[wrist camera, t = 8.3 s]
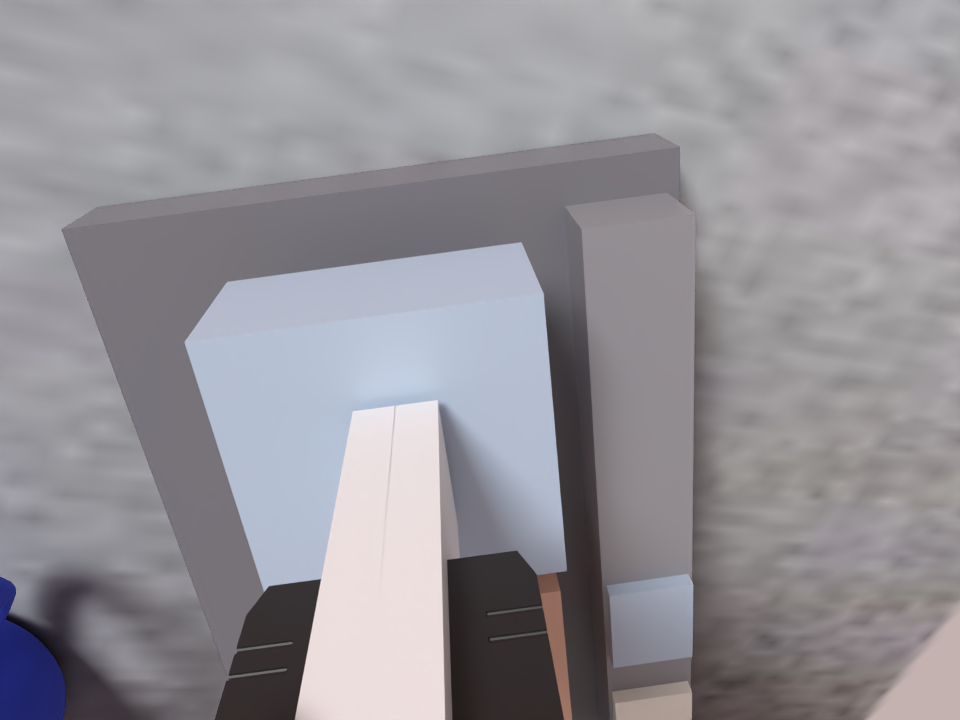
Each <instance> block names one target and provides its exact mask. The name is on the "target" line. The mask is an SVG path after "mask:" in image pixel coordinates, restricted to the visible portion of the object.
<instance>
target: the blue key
mask: <svg viewBox="0 0 960 720" xmlns="http://www.w3.org/2000/svg"><path fill="white" fill-rule="evenodd" d="M185 346H186V349H187V352H188V355H189V358H190V361H191V364H192V367H193V371H194V374H195V377H196V380H197V383H198V386H199V389H200V393H201V396H202V399H203V402H204V405H205V408H206V411H207V414H208V418H209V421H210V424H211V427H212V430H213V433H214V436H215V440H216V443H217V446H218V449H219V452H220V455H221V458H222V461H223V465H224V468H225V471H226V474H227V477H228V480H229V483H230V487H231V490H232V493H233V496H234V499H235V502H236V505H237V508H238V512H239V515H240V518H241V521H242V524H243V527H244V530H245V534H246V537H247V540H248V543H249V546H250V549H251V552H252V556H253V559H254V562H255V565H256V568H257V571H258V574H259V577H260V581H261V584H262V587H263V590H264V592H265V590H266V589H267V588H268V587H269V586H273V585H280V584H288V583H295V582H303V581H310V580H318V579H321V578H322V572H323V567H324V562H325V556H326V551H327V546H328V540H329V535H330V530H331V524H332V519H333V514H334V508H335V503H336V498H337V492H338V487H339V482H340V476H341V471H342V466H343V460H344V455H345V450H346V444H347V439H348V434H349V428H350V423H351V418H352V412H353V411H359V410H367V409H374V408H382V407H389V406H397V405H404V404H412V403H419V402H427V401H434V400H438V404H439V410H440V417H441V423H442V429H443V435H444V441H445V448H446V454H447V460H448V466H449V472H450V479H451V485H452V491H453V497H454V503H455V510H456V516H457V522H458V535H459V553H460V558H464V557H472V556H479V555H487V554H494V553H502V552H509V551H518V552H519V553H520V555H521V556H522V557H523V558H524V559H525V561H526V562H527V563H528V564H529V565H530V567H531V568H532V569H533V570H534V571H535V573H536V574H537V575H543V574H550V573H557V572H564V571H567V565H566V554H565V542H564V530H563V518H562V506H561V494H560V482H559V471H558V459H557V447H556V435H555V423H554V411H553V399H552V388H551V376H550V364H549V352H548V340H547V328H546V316H545V305H544V293H543V291H542V289H541V286H540V284H539V282H538V279H537V277H536V275H535V272H534V270H533V268H532V266H531V263H530V261H529V259H528V256H527V254H526V252H525V249H524V247H523V245H522V242H519V243H512V244H505V245H497V246H490V247H482V248H475V249H467V250H460V251H453V252H445V253H438V254H430V255H423V256H415V257H408V258H401V259H393V260H386V261H378V262H371V263H363V264H356V265H349V266H341V267H334V268H326V269H319V270H311V271H304V272H297V273H289V274H282V275H274V276H267V277H260V278H252V279H245V280H237V281H230V282H227V283H226V284H225V286H224V287H223V288H222V290H221V291H220V293H219V294H218V295H217V297H216V298H215V300H214V301H213V303H212V304H211V305H210V307H209V308H208V310H207V311H206V312H205V314H204V315H203V317H202V318H201V319H200V321H199V322H198V324H197V325H196V327H195V328H194V329H193V331H192V332H191V334H190V335H189V336H188V338H187V339H186V341H185Z"/></svg>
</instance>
